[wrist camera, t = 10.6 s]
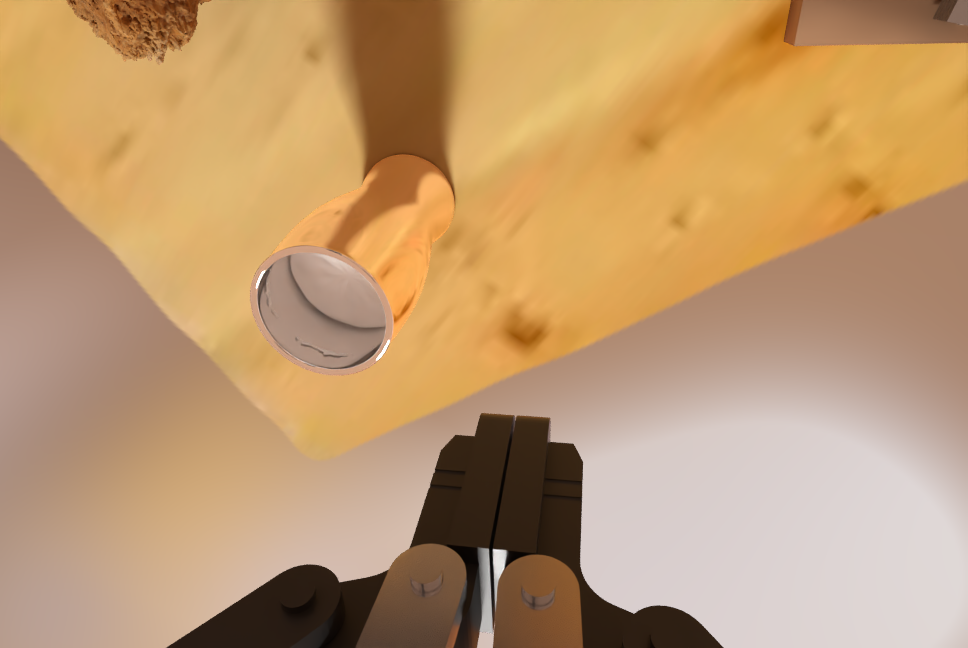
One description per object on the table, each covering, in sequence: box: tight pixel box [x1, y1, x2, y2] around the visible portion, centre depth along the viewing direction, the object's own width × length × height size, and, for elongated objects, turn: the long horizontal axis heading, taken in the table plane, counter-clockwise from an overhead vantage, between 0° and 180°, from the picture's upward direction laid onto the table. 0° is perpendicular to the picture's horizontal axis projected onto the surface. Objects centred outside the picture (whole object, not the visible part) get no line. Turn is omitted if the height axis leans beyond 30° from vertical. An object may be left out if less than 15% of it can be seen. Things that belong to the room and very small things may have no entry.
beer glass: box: [250, 154, 455, 375], centre depth 34 cm, size 7×7×15 cm
